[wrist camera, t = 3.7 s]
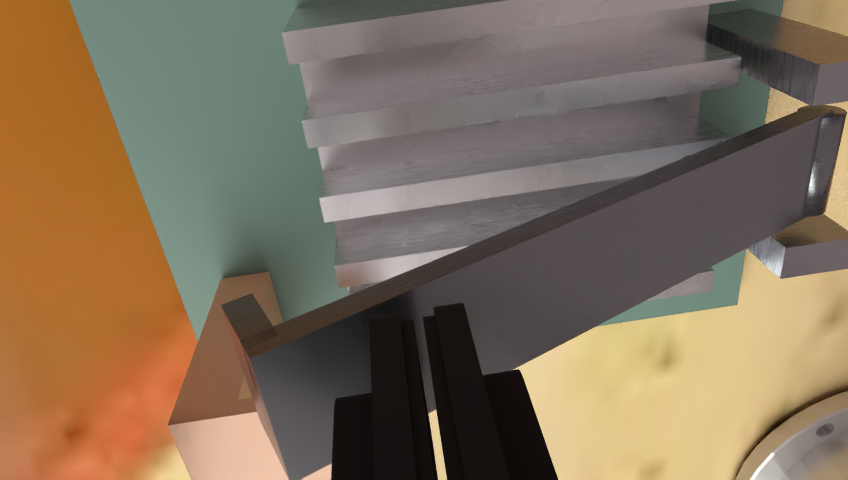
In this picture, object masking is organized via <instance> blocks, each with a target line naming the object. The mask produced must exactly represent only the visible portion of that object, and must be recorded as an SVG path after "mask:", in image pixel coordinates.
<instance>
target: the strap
mask: <svg viewBox="0 0 848 480" xmlns="http://www.w3.org/2000/svg"><path fill="white" fill-rule="evenodd" d="M846 114H847V112H846V111H845V110H844V109H842V108H839V107H835V106H829V105H818V106H811V105H809V106H804V107H801V108H799V109H798V110H797V112H794V113H792V114H790V115H787V116H785V117H782V118H780V119H777V120H775V121H772V122H770V123H768V124H765V125H763V126H760V127H758V128H755V129H753V130H751V131H748V132H746V133H743V134H741V135H738V136H736V137H733V138H731V139H729V140H726V141H724V142H721V143H719V144H716V145H714V146H712V147H709V148H707V149H704V150H702V151H699V152H697V153H694V154H692V155H690V156H687V157H685V158H682V159H680V160H677V161H675V162H673V163H670V164H668V165H665V166H663V167H660V168H658V169H655V170H653V171H651V172H648V173H646V174H643V175H641V176H638V177H636V178H634V179H631V180H629V181H626V182H624V183H621V184H619V185H616V186H614V187H612V188H609V189H607V190H604V191H602V192H599V193H597V194H595V195H592V196H590V197H587V198H585V199H582V200H580V201H577V202H575V203H573V204H570V205H568V206H565V207H563V208H560V209H558V210H556V211H553V212H551V213H548V214H546V215H543V216H541V217H538V218H536V219H534V220H531V221H529V222H526V223H524V224H521V225H519V226H517V227H514V228H512V229H509V230H507V231H504V232H502V233H499V234H497V235H495V236H492V237H490V238H487V239H485V240H482V241H480V242H478V243H475V244H473V245H470V246H468V247H465V248H463V249H460V250H458V251H456V252H453V253H451V254H448V255H446V256H443V257H441V258H439V259H436V260H434V261H431V262H429V263H426V264H424V265H421V266H419V267H417V268H414V269H412V270H409V271H407V272H404V273H402V274H400V275H397V276H395V277H392V278H390V279H387V280H385V281H382V282H380V283H378V284H375V285H373V286H370V287H368V288H365V289H363V290H361V291H358V292H356V293H353V294H351V295H348V296H346V297H343V298H341V299H339V300H336V301H334V302H331V303H329V304H326V305H324V306H322V307H319V308H317V309H314V310H312V311H309V312H307V313H305V314H302V315H300V316H297V317H295V318H292V319H290V320H287V321H285V322H283V323H280V324H278V325H275V326H273V325H272V323H271V322H270V320H269V319H268V317H267V316H266V314H265V313H264V311H263V310H262V308H261V306H260V305H259V303H258V302H257V300H256V299H255V297H254V296H253V294H252V293H251V294H248V295H246V296H243V297H241V298H238V299H235V300H233V301H230V302H228V303H225V304H222V305H221V308H222V311H223V314H224V317H225V320H226V322H227V325H228V328H229V331H230V334H231V337H232V340H233V343H234V346H235V349H236V352H237V355H238V358H239V360H240V363H241V366H242V369H243V372H244V375H245V378H246V381H247V384H248V387H249V390H250V393H251V396H252V398H253V401H254V404H255V407H256V410H257V413H258V416H259V419H260V422H261V424H262V426H263V428H264V430H265V432H266V434H267V436H268V438H269V440H270V442H271V444H272V446H273V449H274V451H275V453H276V455H277V457H278V459H279V461H280V463H281V465H282V467H283V469H284V471H285V473H286V475H287V477H288V479H289V480H301V479H303V478H304V477H306V476H308V475H310V474H312V473H314V472H316V471H318V470H320V469H322V468H324V467H326V466H328V465H330V464H332V445H333V421H334V404H335V400H336V398H341V397H347V396H354V395H360V394H366V393H372V390H371V359H370V329H369V318H370V317H372V316H378V315H385V314H391V313H398V312H400V316H401V320H406V319H412V318H413V322H414V329H415V335H416V341H417V347H418V353H419V360H420V366H421V372H422V378H423V385H424V391H425V397H426V403H427V409H428V413H430V412H432V411H434V410H436V403H435V396H434V390H433V383H432V376H431V370H430V363H429V357H428V350H427V343H426V337H425V330H424V323H423V317H425V316H432V315H434V311H433V307H436V306H443V305H449V304H456V303H462V302H463V303H464V306H465V310H466V314H467V318H468V321H469V325H470V329H471V333H472V337H473V341H474V344H475V348H476V352H477V356H478V360H479V363H480V367H481V371H482V375H486V374H492V373H499V372H505V371H511V370H513V369H515V368H517V367H519V366H521V365H523V364H524V363H526V362H528V361H530V360H532V359H534V358H536V357H538V356H540V355H542V354H544V353H546V352H548V351H550V350H551V349H553V348H555V347H557V346H559V345H561V344H563V343H565V342H567V341H569V340H571V339H573V338H575V337H577V336H578V335H580V334H582V333H584V332H586V331H588V330H590V329H592V328H594V327H596V326H598V325H600V324H602V323H604V322H605V321H607V320H609V319H611V318H613V317H615V316H617V315H619V314H621V313H623V312H625V311H627V310H629V309H631V308H633V307H634V306H636V305H638V304H640V303H642V302H644V301H646V300H648V299H650V298H652V297H654V296H656V295H658V294H660V293H661V292H663V291H665V290H667V289H669V288H671V287H673V286H675V285H677V284H679V283H681V282H683V281H685V280H687V279H688V278H690V277H692V276H694V275H696V274H698V273H700V272H702V271H704V270H706V269H708V268H710V267H712V266H714V265H715V264H717V263H719V262H721V261H723V260H725V259H727V258H729V257H731V256H733V255H735V254H737V253H739V252H741V251H742V250H744V249H746V248H748V247H750V246H752V245H754V244H756V243H758V242H760V241H762V240H764V239H766V238H768V237H769V236H771V235H773V234H775V233H777V232H779V231H781V230H783V229H785V228H787V227H789V226H791V225H793V224H795V223H797V222H798V221H800V220H802V219H804V218H806V217H809V216H818V215H821V214H823V213H824V212H825V211H826V206H827V202H828V197H829V193H830V188H831V183H832V179H833V174H834V169H835V165H836V160H837V155H838V151H839V146H840V142H841V137H842V132H843V128H844V123H845V118H846Z"/></svg>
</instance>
